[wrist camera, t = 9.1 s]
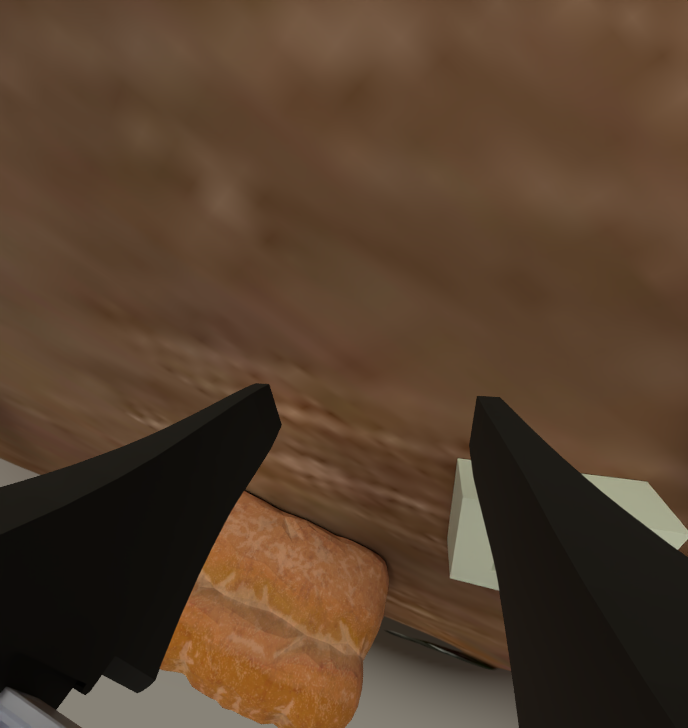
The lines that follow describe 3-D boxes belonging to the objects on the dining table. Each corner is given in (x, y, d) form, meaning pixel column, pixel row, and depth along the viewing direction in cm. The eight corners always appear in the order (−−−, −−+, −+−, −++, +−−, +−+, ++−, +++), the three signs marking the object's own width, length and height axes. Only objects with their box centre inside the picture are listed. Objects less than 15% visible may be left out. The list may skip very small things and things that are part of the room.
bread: (366, 589, 38) (337, 773, 26) (213, 516, 40) (116, 653, 28) (402, 555, 31) (386, 790, 18) (212, 468, 33) (80, 625, 20)
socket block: (647, 481, 17) (691, 534, 15) (588, 568, 23) (612, 619, 20) (457, 458, 21) (462, 497, 18) (447, 538, 27) (449, 578, 24)
